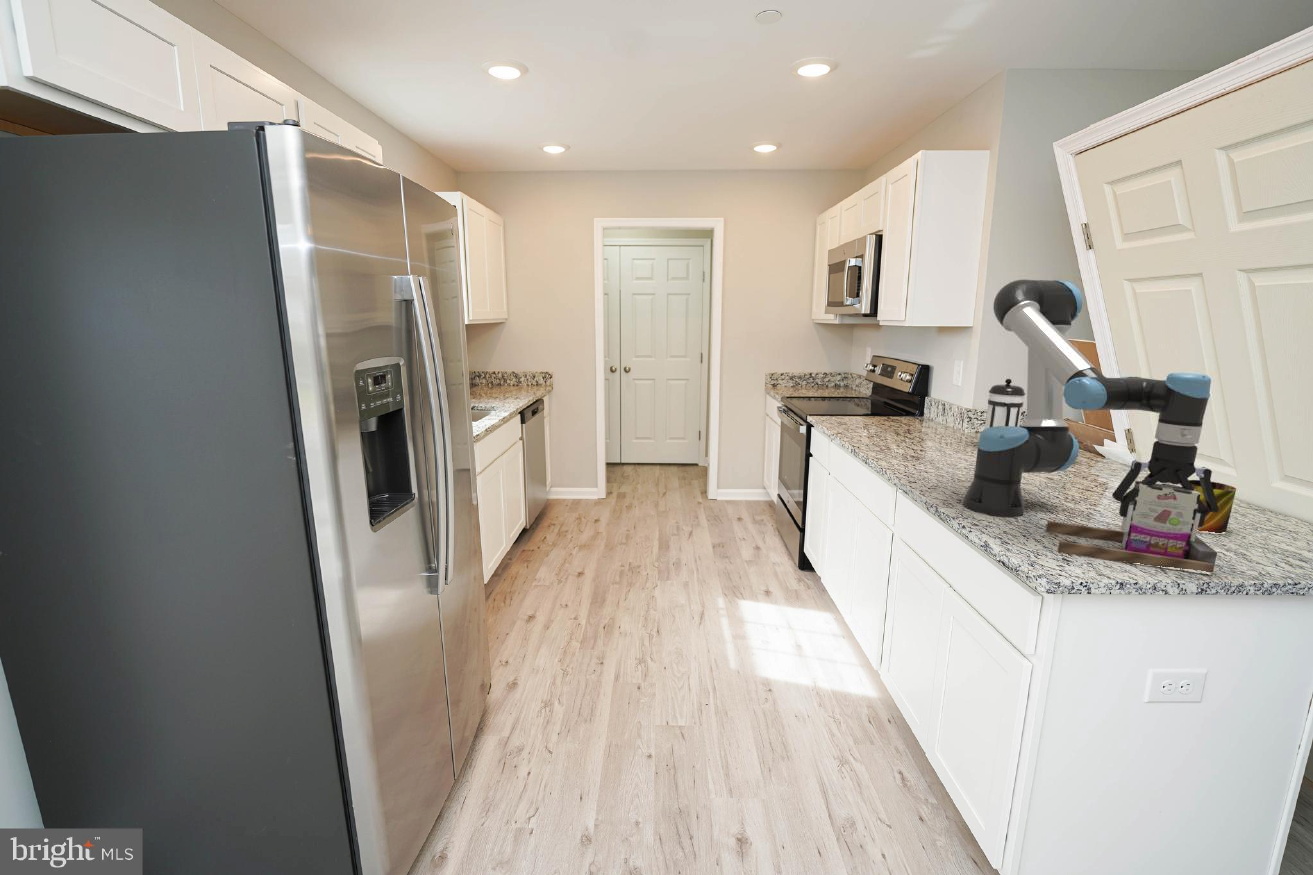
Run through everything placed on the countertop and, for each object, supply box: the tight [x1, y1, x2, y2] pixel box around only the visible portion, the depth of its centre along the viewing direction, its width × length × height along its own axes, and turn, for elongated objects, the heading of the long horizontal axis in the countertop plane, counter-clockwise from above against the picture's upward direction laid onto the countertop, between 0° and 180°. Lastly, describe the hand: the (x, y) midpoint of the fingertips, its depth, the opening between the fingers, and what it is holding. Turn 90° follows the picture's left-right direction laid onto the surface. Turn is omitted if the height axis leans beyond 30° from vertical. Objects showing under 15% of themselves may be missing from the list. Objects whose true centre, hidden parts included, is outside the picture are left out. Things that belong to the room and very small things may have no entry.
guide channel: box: [1046, 520, 1218, 573], centre depth 140 cm, size 28×16×5 cm, turn 66°
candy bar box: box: [1121, 480, 1201, 559], centre depth 137 cm, size 11×5×16 cm, turn 60°
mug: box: [1162, 479, 1237, 533], centre depth 158 cm, size 10×14×12 cm
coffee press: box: [984, 378, 1026, 430], centre depth 241 cm, size 17×16×30 cm
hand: (1156, 534), depth 137 cm, fingers closed on candy bar box, 11 cm apart
